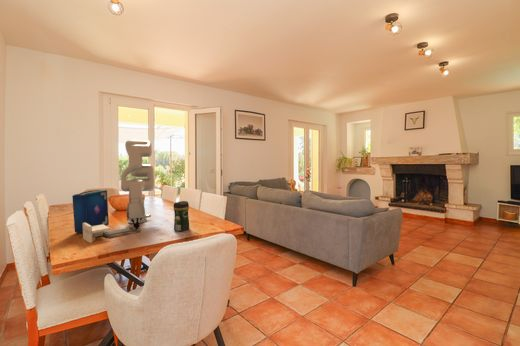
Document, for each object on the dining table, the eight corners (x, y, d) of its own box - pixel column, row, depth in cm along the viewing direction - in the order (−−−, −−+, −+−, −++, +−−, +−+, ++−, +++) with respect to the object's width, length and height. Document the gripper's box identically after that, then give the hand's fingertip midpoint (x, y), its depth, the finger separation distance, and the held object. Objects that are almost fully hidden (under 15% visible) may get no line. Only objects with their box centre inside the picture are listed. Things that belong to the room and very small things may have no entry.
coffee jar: (181, 227, 172) (181, 200, 171) (191, 228, 168) (190, 200, 168) (171, 231, 163) (171, 202, 162) (181, 232, 160) (181, 203, 159)
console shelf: (103, 234, 155) (103, 219, 155) (110, 238, 147) (109, 223, 147) (83, 238, 147) (82, 222, 147) (89, 242, 139) (88, 226, 139)
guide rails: (133, 228, 168) (133, 227, 168) (140, 231, 161) (140, 230, 161) (103, 234, 155) (103, 232, 155) (109, 238, 148) (109, 236, 148)
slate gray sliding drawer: (131, 230, 165) (131, 225, 165) (135, 233, 160) (135, 227, 160) (103, 236, 153) (103, 230, 153) (107, 238, 149) (107, 233, 148)
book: (81, 234, 155) (80, 193, 154) (72, 233, 156) (70, 193, 155) (109, 225, 176) (108, 189, 175) (100, 225, 177) (99, 189, 176)
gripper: (144, 198, 171) (145, 225, 172) (120, 201, 160) (121, 230, 160) (150, 199, 166) (150, 227, 167) (125, 202, 155) (126, 232, 156)
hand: (136, 228), depth 164 cm, fingers closed
